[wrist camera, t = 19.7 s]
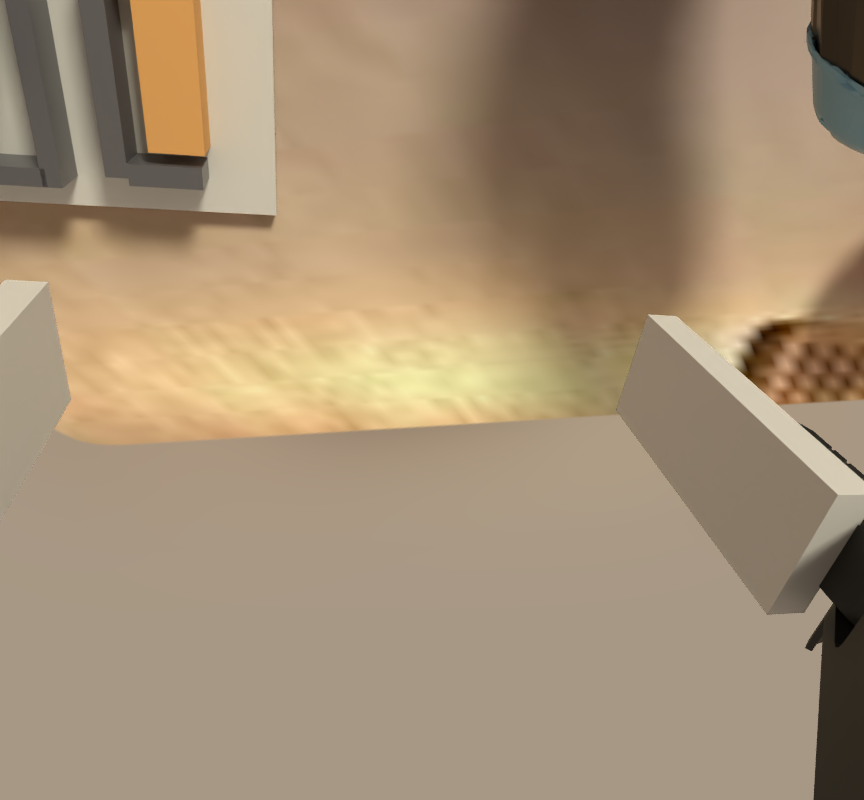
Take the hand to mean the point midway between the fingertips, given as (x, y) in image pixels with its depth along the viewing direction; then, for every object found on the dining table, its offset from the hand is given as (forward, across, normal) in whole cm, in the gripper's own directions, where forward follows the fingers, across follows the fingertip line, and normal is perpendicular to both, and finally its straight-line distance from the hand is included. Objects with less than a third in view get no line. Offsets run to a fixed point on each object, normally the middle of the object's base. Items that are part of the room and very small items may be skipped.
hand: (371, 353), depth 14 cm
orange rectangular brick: (+30, -9, +2) cm, 31 cm away
